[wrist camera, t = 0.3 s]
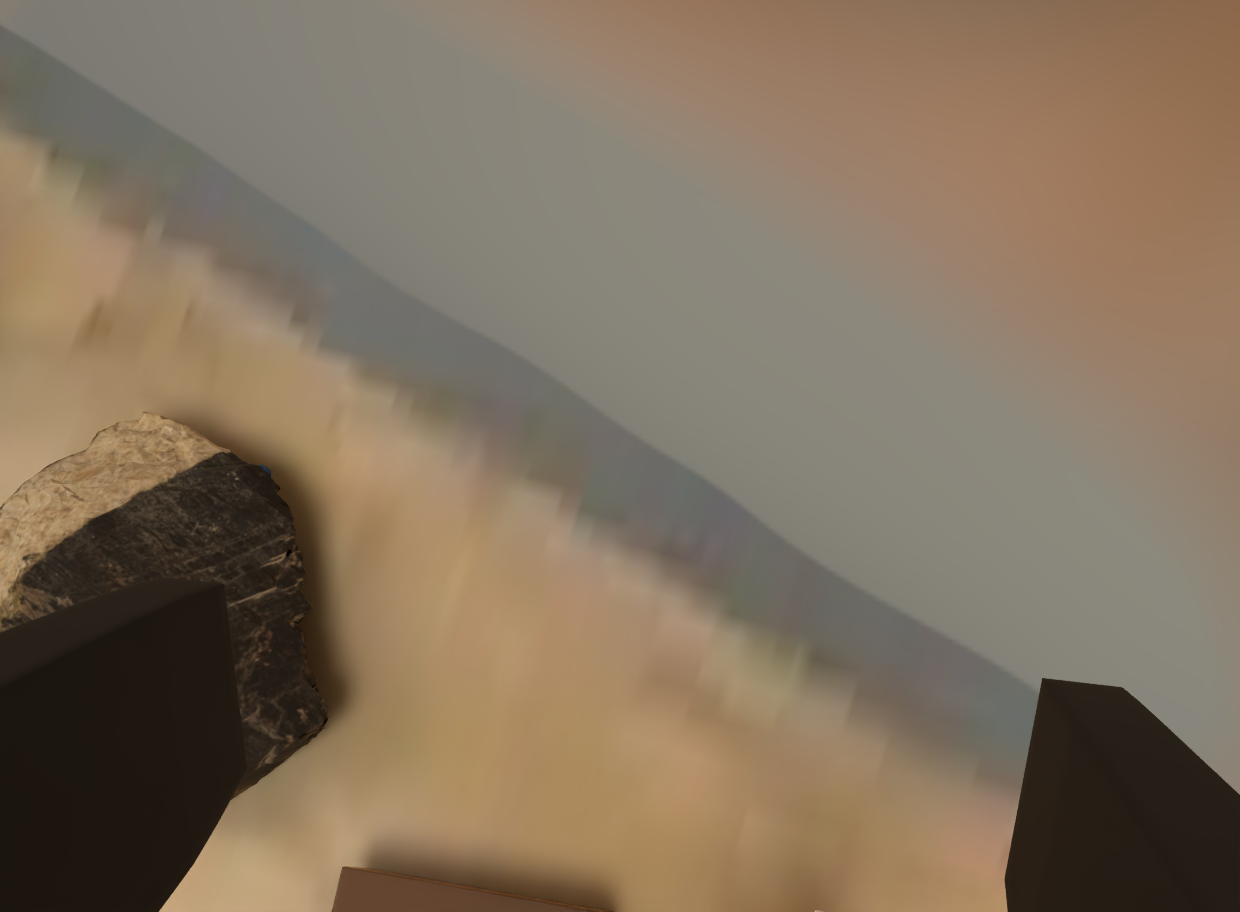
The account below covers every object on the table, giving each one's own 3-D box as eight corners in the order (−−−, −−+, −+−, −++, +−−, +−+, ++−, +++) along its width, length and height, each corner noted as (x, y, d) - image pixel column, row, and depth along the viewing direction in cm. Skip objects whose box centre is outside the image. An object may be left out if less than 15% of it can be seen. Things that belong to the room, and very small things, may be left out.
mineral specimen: (70, 345, 41) (374, 496, 35) (181, 433, 48) (453, 572, 42) (-163, 643, 37) (133, 864, 32) (-9, 693, 44) (261, 885, 38)
